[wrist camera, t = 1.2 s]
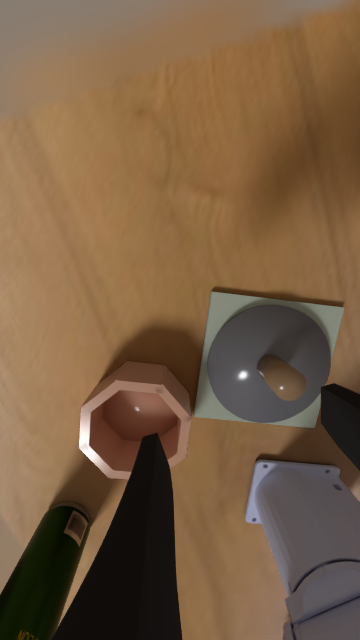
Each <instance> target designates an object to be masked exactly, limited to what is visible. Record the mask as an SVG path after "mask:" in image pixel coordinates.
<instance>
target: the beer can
mask: <svg viewBox="0 0 360 640" xmlns="http://www.w3.org/2000/svg"><path fill="white" fill-rule="evenodd" d="M89 531H90V518H89V514H88V512H87V510H86V509H85V508H84V507H83V506H81V505H79V504H77V503H75V502H69V501H68V502H61V503H58V504H56V505H55V506H53V507H52V508H51V509H50V510H49V511H48V512H46V513H45V515H44V517H43V518H42V520H41V522H40V524H39V525H38V527H37V529H36V531H35V533H34V534H33V536H32V538H31V540H30V542H29V543H28V545H27V547H26V549H25V551H24V553H23V554H22V556H21V558H20V560H19V562H18V563H17V565H16V567H15V569H14V571H13V572H12V574H11V576H10V578H9V580H8V582H7V583H6V585H5V587H4V589H3V591H2V592H1V594H0V640H51V638H52V637H53V635H54V633H55V631H56V630H57V627H58V624H59V621H60V618H61V615H62V612H63V609H64V606H65V603H66V600H67V597H68V594H69V591H70V588H71V585H72V582H73V579H74V576H75V573H76V570H77V567H78V564H79V561H80V558H81V556H82V553H83V550H84V547H85V544H86V541H87V538H88V535H89Z"/></svg>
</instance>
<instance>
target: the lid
mask: <svg viewBox="0 0 360 640" xmlns="http://www.w3.org/2000/svg"><path fill="white" fill-rule="evenodd" d="M330 366H331V354H330V348H329V344H328V341H327V338H326V336H325V334H324V332H323V331H322V329H321V328H320V327H319V325H318V324H317V323H316V322H315V321H314V320H313V319H312V318H310V317H309V316H308V315H306V314H305V313H303V312H301V311H299V310H296V309H293V308H290V307H286V306H281V305H260V306H256V307H252V308H249V309H246V310H244V311H242V312H240V313H238V314H237V315H235V316H234V317H232V318H231V319H230V320H229V321H228V322H226V323H225V324H224V325H223V327H222V328H221V329H220V330H219V332H218V333H217V334H216V336H215V338H214V340H213V342H212V344H211V347H210V349H209V354H208V359H207V373H208V378H209V382H210V385H211V387H212V390H213V392H214V394H215V396H216V398H217V399H218V401H219V402H220V403H221V404H222V405H223V406H224V407H225V408H226V409H227V410H228V411H229V412H231V413H232V414H234V415H235V416H237V417H239V418H242V419H244V420H247V421H251V422H256V423H274V422H279V421H283V420H286V419H289V418H291V417H293V416H295V415H297V414H299V413H300V412H302V411H304V410H305V409H306V408H307V407H309V406H310V405H311V404H312V403H313V402H314V401H315V400H316V398H317V397H318V396H319V395H320V393H321V387H323V386H325V384H326V382H327V379H328V376H329V372H330Z"/></svg>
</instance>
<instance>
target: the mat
mask: <svg viewBox="0 0 360 640" xmlns="http://www.w3.org/2000/svg"><path fill="white" fill-rule="evenodd" d="M260 305H281V306H286V307H290V308H293V309H296V310H299V311H301V312H303V313H305V314H306V315H308V316H309V317H310V318H312V319H313V320H314V321H315V322H316V323H317V324H318V325H319V327H320V328H321V329H322V331H323V332H324V334H325V336H326V338H327V341H328V344H329V348H330V354H331V360H332V356H333V352H334V348H335V344H336V340H337V336H338V331H339V327H340V323H341V319H342V315H343V311H344V308H343V307H336V306H328V305H320V304H311V303H303V302H295V301H286V300H278V299H270V298H262V297H253V296H245V295H237V294H229V293H220V292H212V291H211V296H210V303H209V310H208V317H207V324H206V331H205V338H204V345H203V352H202V359H201V366H200V373H199V380H198V387H197V394H196V401H195V408H194V417H201V418H212V419H222V420H233V421H244V422H251V421H247V420H244V419H242V418H239V417H237V416H235V415H234V414H232V413H231V412H229V411H228V410H227V409H226V408H225V407H224V406H223V405H222V404H221V403H220V402H219V401H218V399H217V398H216V396H215V394H214V392H213V390H212V387H211V385H210V382H209V378H208V373H207V359H208V354H209V349H210V347H211V344H212V342H213V340H214V338H215V336H216V334H217V333H218V332H219V330H220V329H221V328H222V327H223V325H224V324H225V323H226V322H228V321H229V320H230V319H231V318H232V317H234V316H235V315H237V314H238V313H240V312H242V311H244V310H246V309H249V308H252V307H256V306H260ZM325 385H326V384H325ZM320 405H321V393H320V395H319V396H318V397H317V398H316V400H315V401H314V402H313V403H312V404H311V405H310V406H309V407H307V408H306V409H305V410H304V411H302V412H300V413H299V414H297V415H295V416H293V417H291V418H289V419H286V420H283V421H279V422H274V423H265V424H275V425H286V426H296V427H307V428H315V426H316V422H317V418H318V414H319V410H320ZM254 423H256V422H254Z"/></svg>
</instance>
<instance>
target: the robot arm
mask: <svg viewBox="0 0 360 640" xmlns="http://www.w3.org/2000/svg"><path fill="white" fill-rule="evenodd" d="M321 424H322V425H323V426H324V428H325V429H326V431H327V432H328V433H329V435H330V436H331V438H332V439H333V440H334V442H335V443H336V444H337V446H338V447H339V448H340V449H341V450H342V451H343V453H344V454H345V455H346V456H347V457H348V458H349V459H350V460H351V461H352V463H353V464H354V465H355V466H356V467H357V468H358V469H359V470H360V394H358V393H355V392H353V391H351V390H349V389H346V388H344V387H342V386H340V385H337V384H335V383H333V384H330V385H326V386H323V387H321ZM265 464H266V465H265ZM263 465H264V466H263ZM339 475H340V469H339V468H338V467H337V466H330V465H318V464H307V463H295V462H284V461H272V460H261V459H260V460H257V461H256V463H255V468H254V473H253V478H252V482H251V487H250V492H249V497H248V502H247V507H246V512H245V520H246V522H248V523H258V524H262V525H263V528H264V531H265V534H266V536H267V539H268V542H269V545H270V548H271V550H272V553H273V556H274V559H275V561H276V564H277V567H278V570H279V573H280V575H281V578H282V581H283V584H284V586H285V589H286V592H287V595H288V598H286V599H285V603H286V606H287V609H288V612H289V615H290V618H291V620H292V621H288V622H286V623H284V628H283V629H284V633H283V640H360V502H359V501H358V500H357V498H356V497H355V496H354V495H353V494H352V492H351V491H350V490H349V489H348V488H347V486H346V485H345V484H344V483H343V482H342V480H341V479H340V478H339ZM51 640H182V631H181V622H180V612H179V602H178V592H177V580H176V561H175V531H174V502H173V489H172V480H171V473H170V466H169V463H168V460H167V457H166V455H165V452H164V449H163V446H162V444H161V441H160V438H159V435H158V433H154V434H151V435H147V436H144V437H143V438H142V440H141V443H140V447H139V450H138V453H137V457H136V460H135V463H134V466H133V469H132V472H131V474H130V477H129V480H128V483H127V485H126V488H125V491H124V493H123V496H122V498H121V501H120V503H119V506H118V508H117V510H116V513H115V515H114V518H113V520H112V522H111V525H110V527H109V529H108V531H107V534H106V536H105V538H104V540H103V542H102V545H101V547H100V549H99V551H98V553H97V555H96V557H95V559H94V561H93V563H92V565H91V567H90V569H89V571H88V573H87V575H86V577H85V579H84V581H83V582H82V584H81V586H80V588H79V590H78V592H77V594H76V596H75V598H74V600H73V601H72V603H71V605H70V607H69V609H68V610H67V612H66V614H65V616H64V618H63V619H62V621H61V623H60V625H59V626H58V628H57V630H56V631H55V633H54V635H53V637H52V638H51Z"/></svg>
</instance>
